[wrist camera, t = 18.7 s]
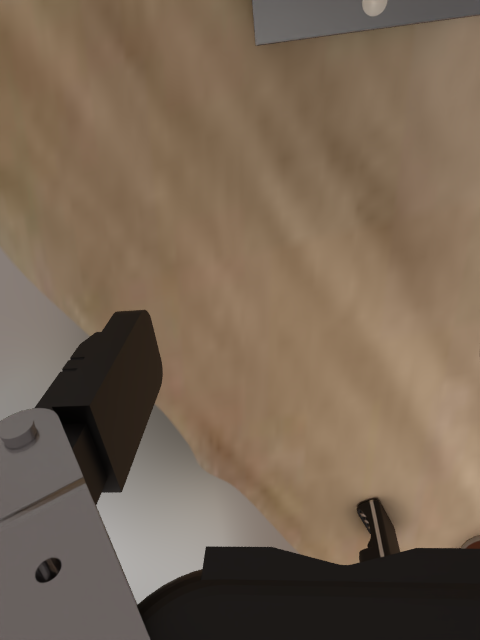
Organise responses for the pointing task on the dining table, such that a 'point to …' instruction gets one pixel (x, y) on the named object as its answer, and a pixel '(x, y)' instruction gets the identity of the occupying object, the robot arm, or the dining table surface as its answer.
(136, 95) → the dining table surface
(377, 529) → the battery charger
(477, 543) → the coffee cup
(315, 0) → the socket holder
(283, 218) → the dining table surface
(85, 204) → the dining table surface
